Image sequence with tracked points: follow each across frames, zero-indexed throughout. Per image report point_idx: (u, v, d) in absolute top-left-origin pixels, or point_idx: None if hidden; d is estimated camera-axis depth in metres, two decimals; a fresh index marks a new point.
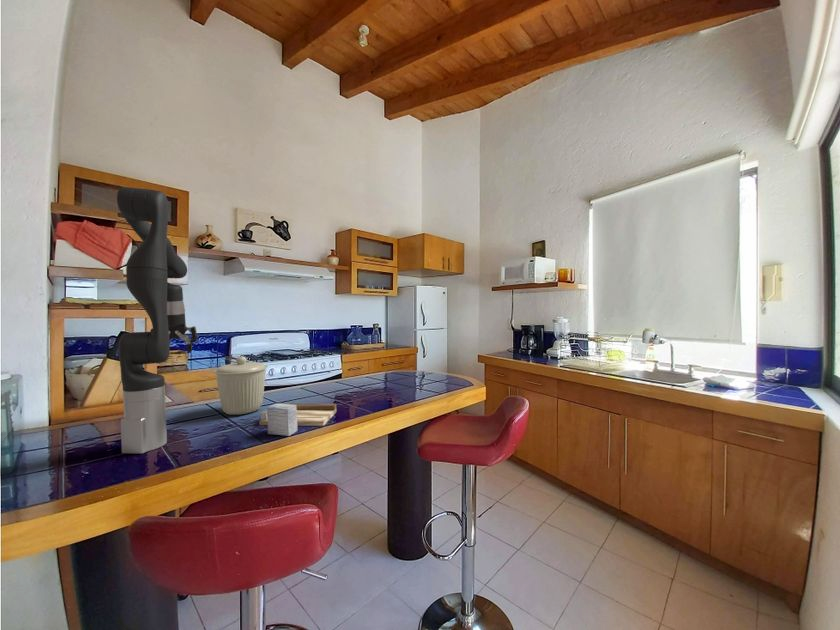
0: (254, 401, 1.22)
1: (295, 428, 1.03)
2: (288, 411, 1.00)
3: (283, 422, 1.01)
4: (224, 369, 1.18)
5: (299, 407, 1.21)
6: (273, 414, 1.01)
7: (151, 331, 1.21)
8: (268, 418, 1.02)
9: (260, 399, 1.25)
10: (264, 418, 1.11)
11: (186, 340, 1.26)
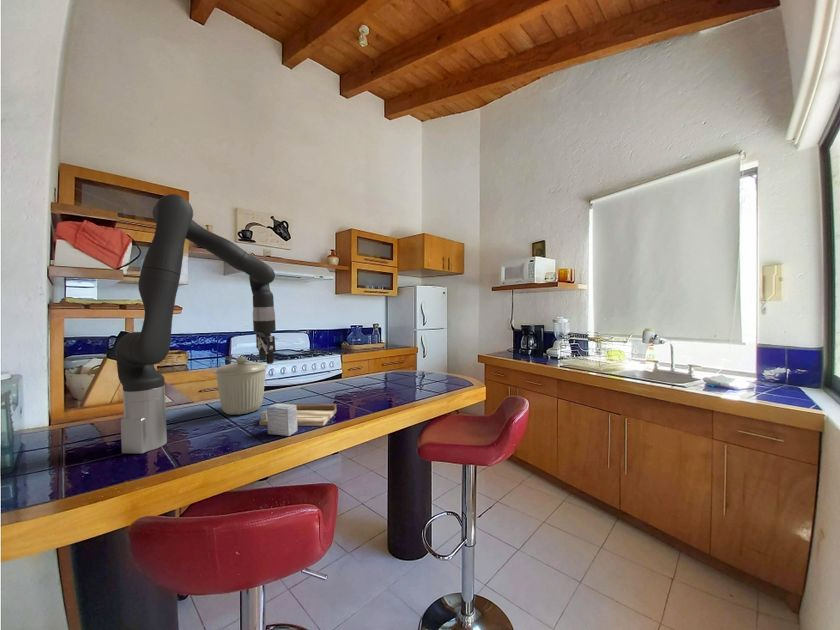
0: (254, 401, 1.22)
1: (295, 428, 1.03)
2: (288, 411, 1.00)
3: (283, 422, 1.01)
4: (224, 369, 1.18)
5: (299, 407, 1.21)
6: (273, 414, 1.01)
7: (256, 336, 1.26)
8: (268, 418, 1.02)
9: (260, 399, 1.25)
10: (264, 418, 1.11)
11: (265, 349, 1.19)
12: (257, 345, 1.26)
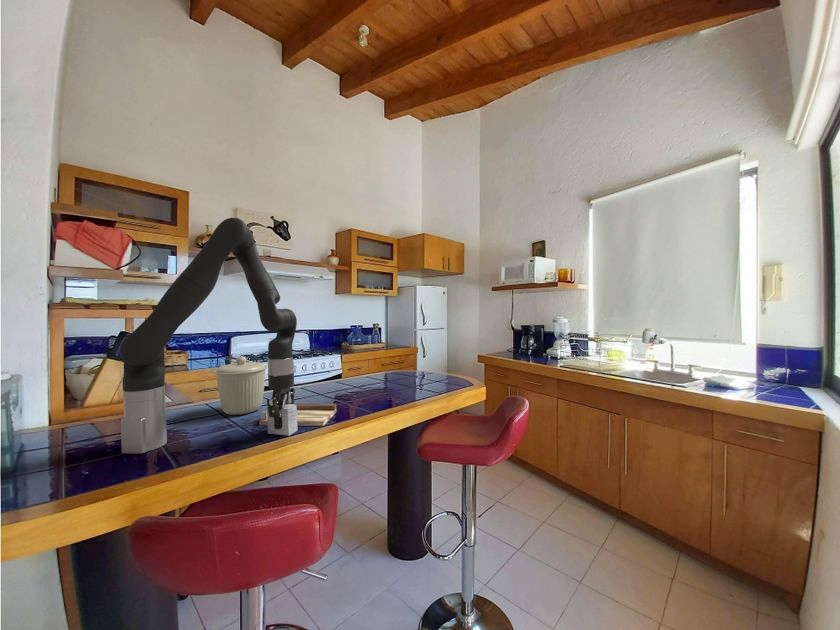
0: (254, 401, 1.22)
1: (295, 428, 1.03)
2: (288, 411, 1.00)
3: (283, 422, 1.01)
4: (224, 369, 1.18)
5: (299, 407, 1.21)
6: None
7: None
8: (268, 418, 1.02)
9: (260, 399, 1.25)
10: (264, 418, 1.11)
11: None
12: None
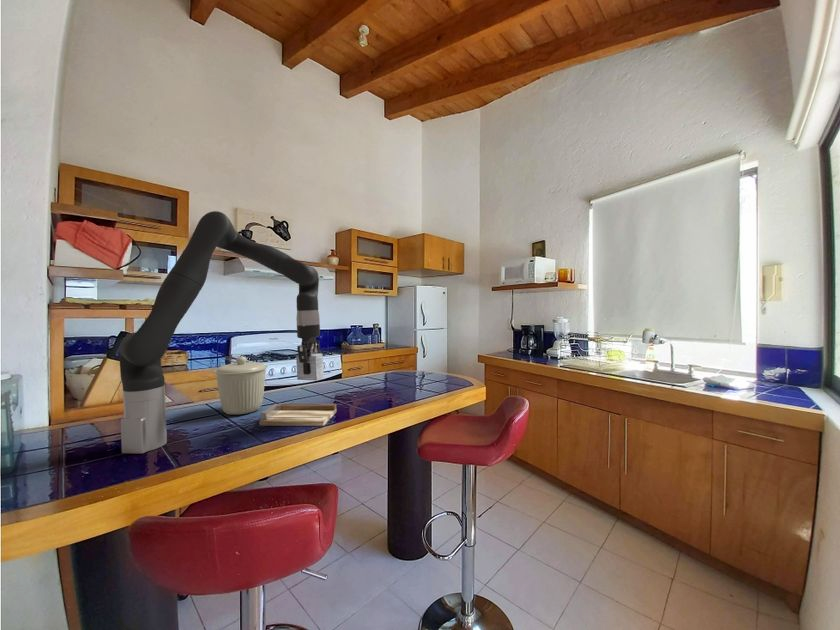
0: (254, 401, 1.22)
1: (322, 375, 1.13)
2: (315, 357, 1.10)
3: (311, 368, 1.10)
4: (224, 369, 1.18)
5: (299, 407, 1.21)
6: None
7: None
8: (297, 365, 1.12)
9: (260, 399, 1.25)
10: (264, 418, 1.11)
11: None
12: None
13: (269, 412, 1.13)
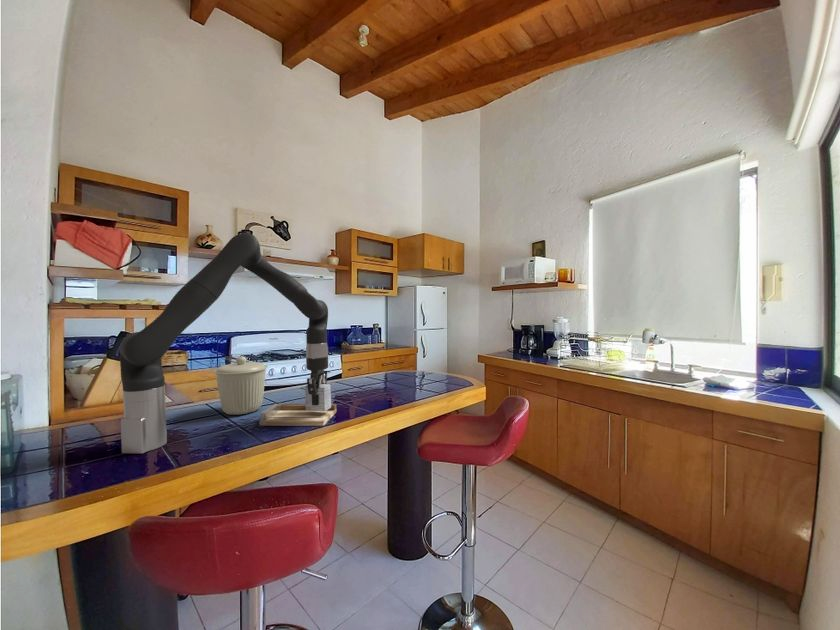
0: (254, 401, 1.22)
1: (329, 405, 1.17)
2: (324, 389, 1.14)
3: (320, 399, 1.14)
4: (224, 369, 1.18)
5: (299, 407, 1.21)
6: None
7: None
8: (306, 396, 1.16)
9: (260, 399, 1.25)
10: (264, 418, 1.11)
11: None
12: None
13: (269, 412, 1.13)
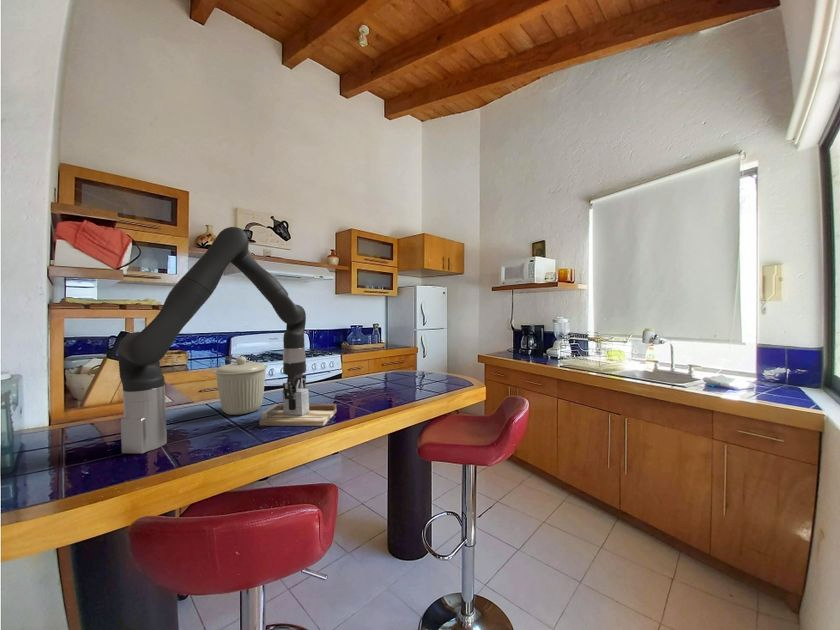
0: (254, 401, 1.22)
1: (307, 409, 1.17)
2: (301, 393, 1.14)
3: (297, 403, 1.14)
4: (224, 369, 1.18)
5: None
6: None
7: None
8: (283, 400, 1.16)
9: (260, 399, 1.25)
10: (264, 418, 1.11)
11: None
12: None
13: (269, 412, 1.13)
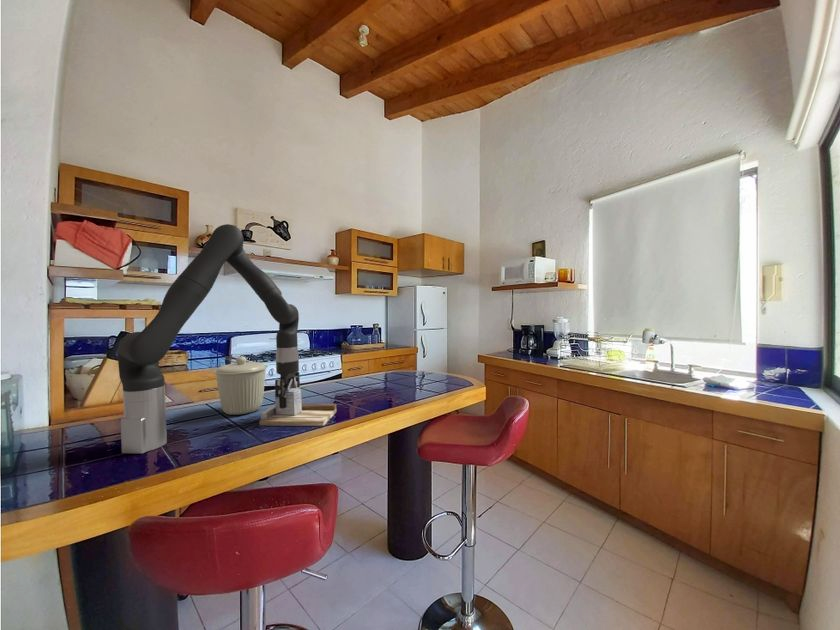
0: (254, 401, 1.22)
1: (300, 409, 1.17)
2: (294, 393, 1.14)
3: (289, 403, 1.15)
4: (224, 369, 1.18)
5: None
6: None
7: None
8: (276, 400, 1.16)
9: (260, 399, 1.25)
10: (264, 418, 1.11)
11: None
12: None
13: (269, 412, 1.13)
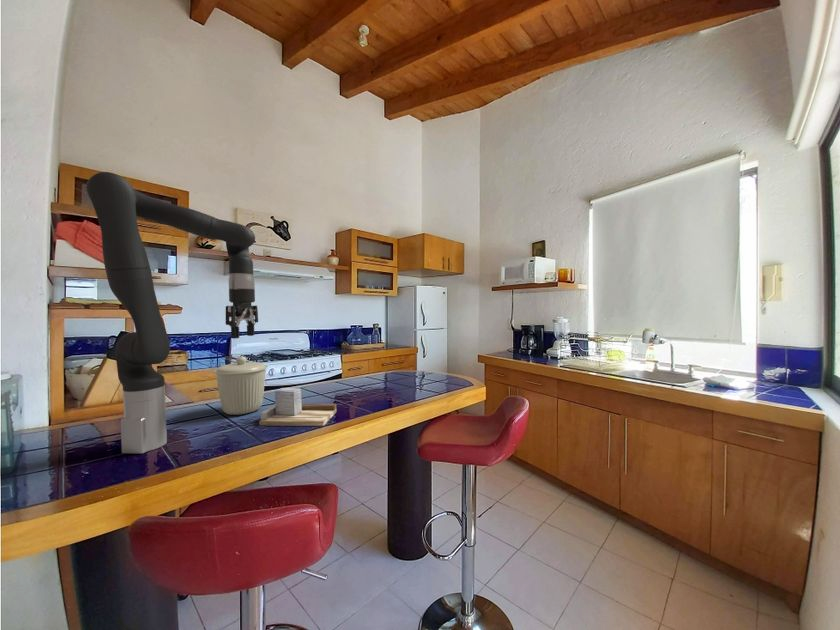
0: (254, 401, 1.22)
1: (300, 409, 1.17)
2: (294, 393, 1.14)
3: (289, 403, 1.15)
4: (224, 369, 1.18)
5: None
6: (280, 396, 1.15)
7: None
8: (276, 400, 1.16)
9: (260, 399, 1.25)
10: (264, 418, 1.11)
11: None
12: None
13: (269, 412, 1.13)
